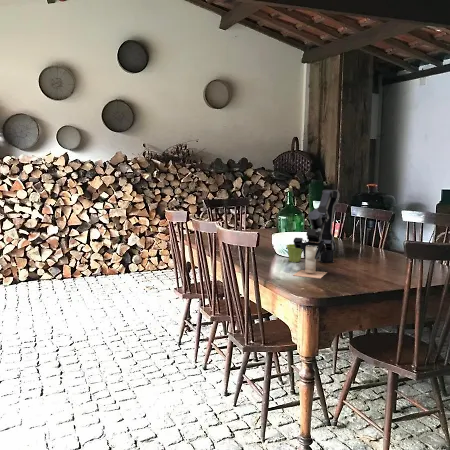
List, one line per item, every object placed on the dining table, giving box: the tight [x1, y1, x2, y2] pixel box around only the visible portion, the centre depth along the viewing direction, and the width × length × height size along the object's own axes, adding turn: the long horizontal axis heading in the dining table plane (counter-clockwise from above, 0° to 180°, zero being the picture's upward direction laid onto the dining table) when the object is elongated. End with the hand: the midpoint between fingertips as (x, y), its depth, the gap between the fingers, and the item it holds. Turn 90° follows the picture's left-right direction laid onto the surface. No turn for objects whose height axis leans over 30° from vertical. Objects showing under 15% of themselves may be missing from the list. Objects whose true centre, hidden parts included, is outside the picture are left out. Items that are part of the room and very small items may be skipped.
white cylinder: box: [304, 245, 317, 273], centre depth 232 cm, size 5×5×12 cm
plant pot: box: [286, 243, 303, 263], centre depth 263 cm, size 9×9×9 cm
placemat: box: [292, 269, 328, 280], centre depth 233 cm, size 13×13×1 cm
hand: (309, 258), depth 230 cm, fingers closed on white cylinder, 5 cm apart
